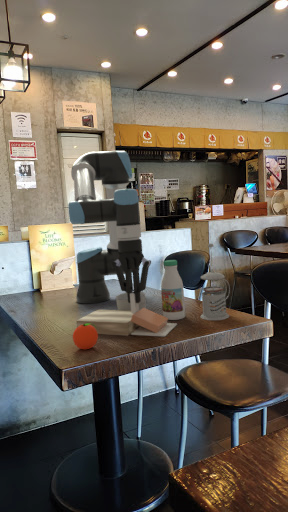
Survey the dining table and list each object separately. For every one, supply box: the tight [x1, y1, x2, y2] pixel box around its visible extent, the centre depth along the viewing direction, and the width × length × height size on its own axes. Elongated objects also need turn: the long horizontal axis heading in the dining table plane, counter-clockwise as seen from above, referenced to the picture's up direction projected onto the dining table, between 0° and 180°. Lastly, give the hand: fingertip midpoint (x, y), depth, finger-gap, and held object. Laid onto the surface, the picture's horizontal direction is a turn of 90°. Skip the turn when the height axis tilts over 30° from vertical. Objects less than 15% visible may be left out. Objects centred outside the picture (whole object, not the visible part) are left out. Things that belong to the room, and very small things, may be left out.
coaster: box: [131, 307, 169, 333], centre depth 117 cm, size 9×9×2 cm
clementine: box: [72, 323, 99, 350], centre depth 104 cm, size 8×7×7 cm
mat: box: [130, 322, 178, 337], centre depth 117 cm, size 12×11×1 cm
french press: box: [199, 243, 231, 321], centre depth 126 cm, size 10×12×25 cm
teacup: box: [115, 291, 147, 311], centre depth 137 cm, size 14×11×8 cm
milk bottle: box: [160, 259, 186, 321], centre depth 128 cm, size 8×8×20 cm
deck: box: [75, 309, 140, 336], centre depth 122 cm, size 14×18×4 cm
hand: (135, 312), depth 118 cm, fingers closed
